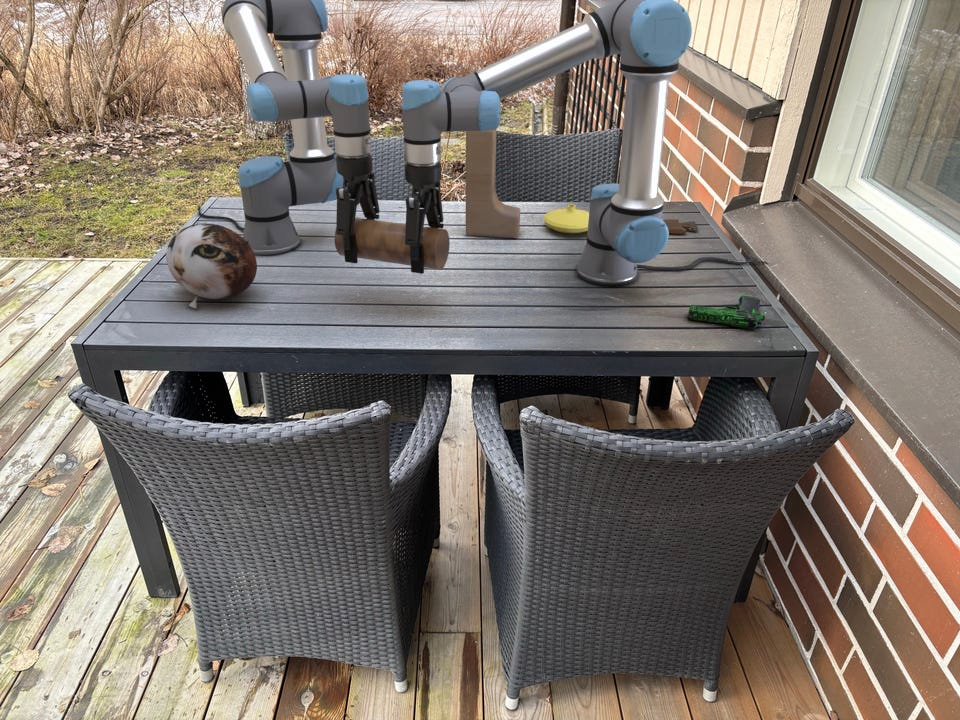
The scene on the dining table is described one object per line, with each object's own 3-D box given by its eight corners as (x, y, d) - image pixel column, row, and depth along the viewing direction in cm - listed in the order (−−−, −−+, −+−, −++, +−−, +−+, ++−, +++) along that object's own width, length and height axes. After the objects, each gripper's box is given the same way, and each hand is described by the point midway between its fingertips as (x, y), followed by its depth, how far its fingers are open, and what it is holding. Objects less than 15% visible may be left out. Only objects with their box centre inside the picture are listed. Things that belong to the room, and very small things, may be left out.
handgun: (768, 297, 166) (764, 322, 154) (765, 309, 168) (761, 335, 156) (697, 286, 172) (687, 310, 159) (695, 297, 173) (685, 322, 161)
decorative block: (517, 239, 203) (521, 131, 188) (465, 235, 205) (465, 128, 189) (519, 230, 209) (524, 124, 194) (469, 226, 211) (469, 122, 196)
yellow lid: (559, 216, 220) (561, 193, 217) (605, 227, 212) (608, 204, 209) (532, 230, 209) (533, 207, 206) (580, 242, 201) (582, 218, 198)
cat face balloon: (130, 285, 161) (164, 203, 163) (192, 308, 177) (221, 233, 178) (195, 307, 151) (229, 220, 152) (254, 330, 166) (285, 250, 168)
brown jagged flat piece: (700, 236, 208) (693, 224, 217) (701, 230, 207) (694, 219, 216) (612, 233, 208) (607, 221, 217) (613, 227, 207) (608, 216, 216)
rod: (336, 261, 160) (332, 223, 155) (354, 247, 167) (351, 211, 162) (435, 276, 153) (434, 237, 149) (449, 261, 160) (449, 223, 156)
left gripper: (345, 169, 140) (354, 274, 152) (391, 143, 158) (396, 239, 170) (311, 165, 142) (322, 270, 154) (360, 140, 160) (367, 235, 172)
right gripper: (419, 178, 136) (423, 286, 148) (458, 150, 154) (458, 249, 166) (383, 174, 138) (389, 280, 150) (425, 147, 156) (428, 244, 168)
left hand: (361, 254), depth 162 cm, fingers open, 9 cm apart
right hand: (425, 264), depth 158 cm, fingers closed on rod, 9 cm apart
